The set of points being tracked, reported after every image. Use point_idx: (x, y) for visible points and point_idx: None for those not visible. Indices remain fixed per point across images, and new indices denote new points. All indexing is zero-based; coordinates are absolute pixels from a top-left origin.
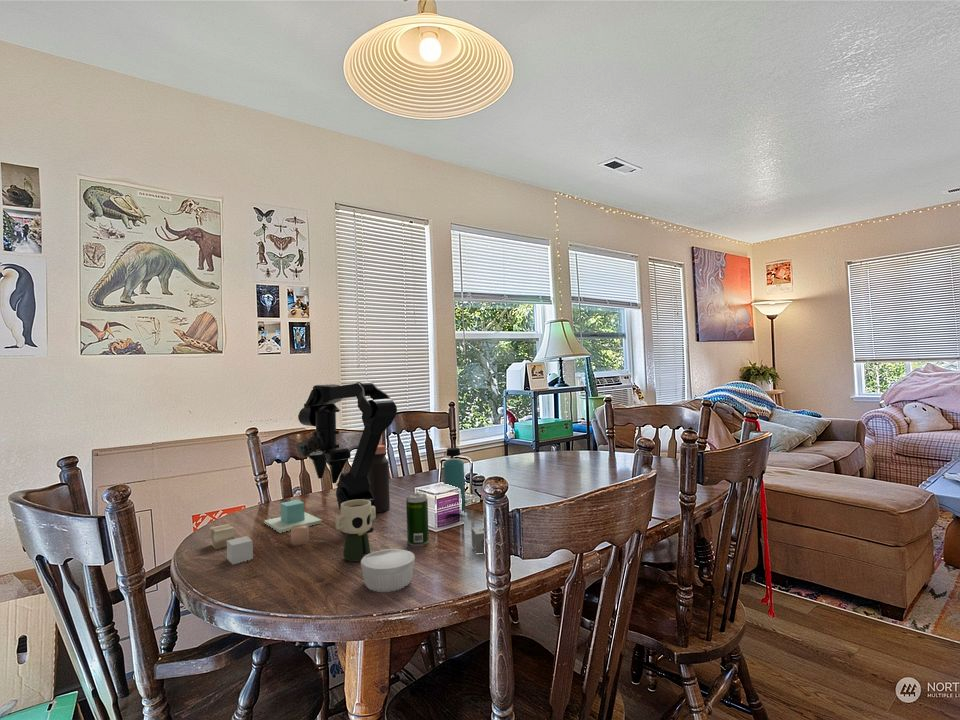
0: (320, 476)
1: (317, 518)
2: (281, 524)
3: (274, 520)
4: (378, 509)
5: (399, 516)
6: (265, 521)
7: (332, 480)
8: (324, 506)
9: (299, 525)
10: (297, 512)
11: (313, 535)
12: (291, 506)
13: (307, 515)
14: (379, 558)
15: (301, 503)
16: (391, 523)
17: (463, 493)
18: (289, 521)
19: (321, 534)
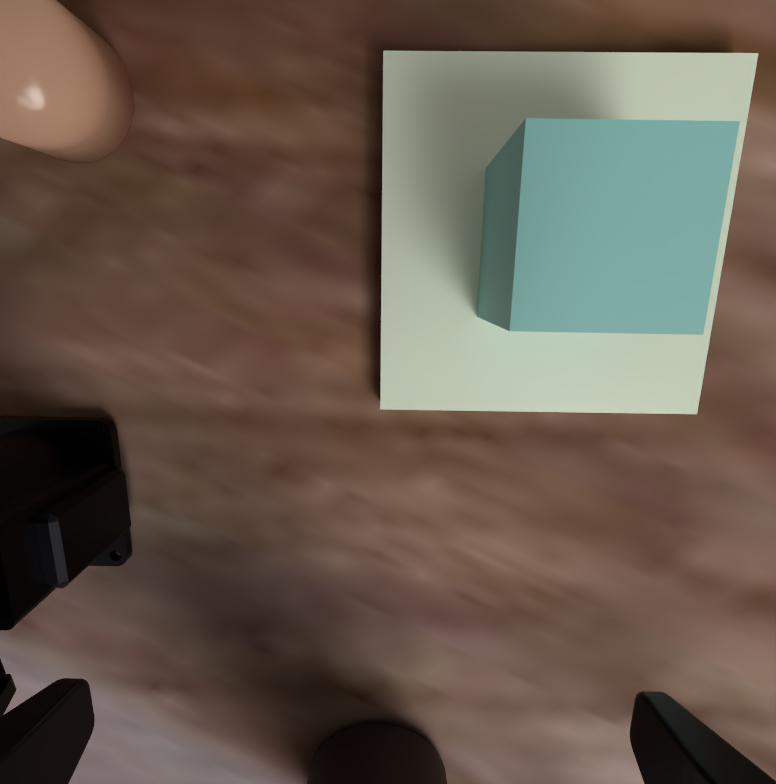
0: (649, 746)
1: (436, 403)
2: (512, 122)
3: None
4: (316, 762)
5: (159, 775)
6: (726, 54)
7: (6, 715)
8: (754, 597)
9: (20, 59)
10: (495, 253)
11: (157, 238)
12: (517, 177)
13: (575, 385)
14: None
15: (512, 299)
16: None
17: None
18: (487, 182)
19: (140, 290)
